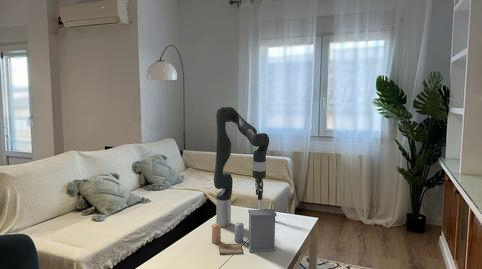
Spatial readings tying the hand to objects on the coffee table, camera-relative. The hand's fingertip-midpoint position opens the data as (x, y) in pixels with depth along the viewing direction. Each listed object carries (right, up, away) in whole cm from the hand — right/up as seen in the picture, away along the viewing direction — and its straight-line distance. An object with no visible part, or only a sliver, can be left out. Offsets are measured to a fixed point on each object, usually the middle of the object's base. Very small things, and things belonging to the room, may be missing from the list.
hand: (258, 197), depth 191 cm
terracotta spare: (-24, -26, +2) cm, 35 cm away
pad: (-16, -27, -7) cm, 32 cm away
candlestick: (+3, -21, +40) cm, 46 cm away
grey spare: (-11, -26, +3) cm, 28 cm away
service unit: (+1, -27, -5) cm, 27 cm away
